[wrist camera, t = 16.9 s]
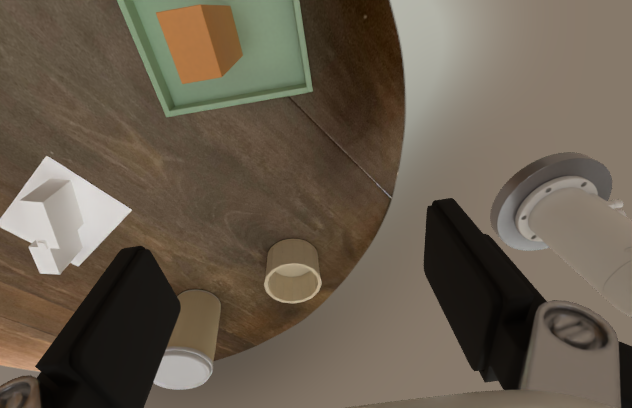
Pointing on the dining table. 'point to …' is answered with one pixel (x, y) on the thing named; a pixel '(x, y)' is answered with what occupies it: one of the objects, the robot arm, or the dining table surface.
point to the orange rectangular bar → (201, 40)
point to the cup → (292, 271)
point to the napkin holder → (61, 217)
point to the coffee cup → (191, 342)
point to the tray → (246, 74)
